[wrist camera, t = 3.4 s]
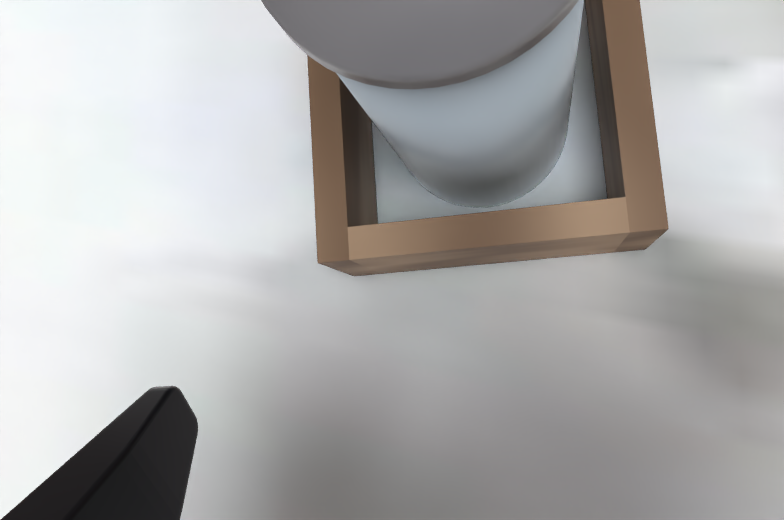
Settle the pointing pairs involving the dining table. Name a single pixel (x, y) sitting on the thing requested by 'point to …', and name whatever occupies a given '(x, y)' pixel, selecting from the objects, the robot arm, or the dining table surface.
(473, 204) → the parts canister
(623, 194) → the walnut collar
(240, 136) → the dining table surface
